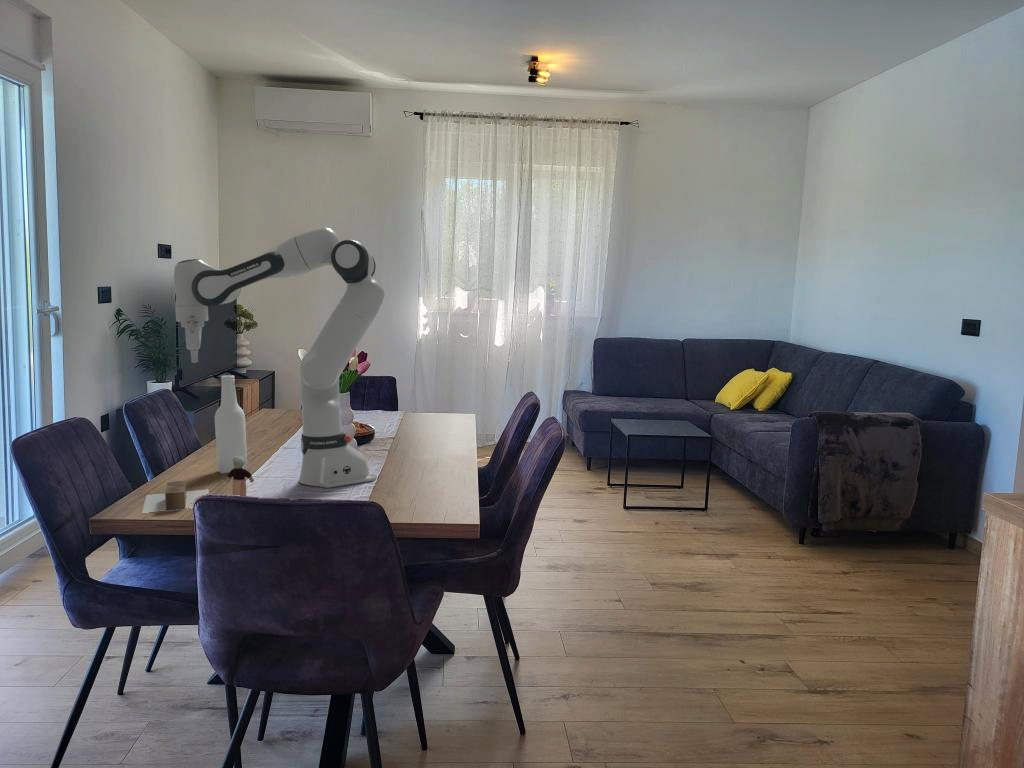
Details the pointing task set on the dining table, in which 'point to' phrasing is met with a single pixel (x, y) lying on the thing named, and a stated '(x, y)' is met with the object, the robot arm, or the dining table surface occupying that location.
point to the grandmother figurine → (239, 476)
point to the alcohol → (229, 427)
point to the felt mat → (159, 501)
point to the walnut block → (175, 495)
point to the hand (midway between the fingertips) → (194, 362)
